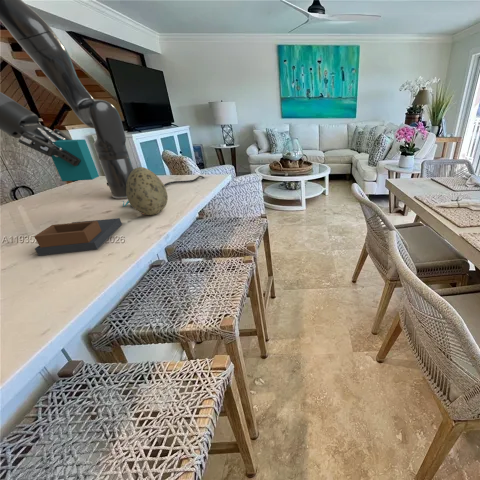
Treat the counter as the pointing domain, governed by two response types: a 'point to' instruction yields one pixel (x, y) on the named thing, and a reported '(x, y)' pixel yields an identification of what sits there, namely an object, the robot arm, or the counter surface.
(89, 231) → the brown tray on base
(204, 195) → the counter surface
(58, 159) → the teal rectangular block
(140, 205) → the decorative egg
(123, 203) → the dragon figurine
